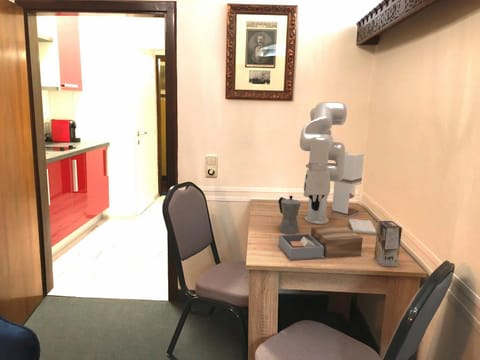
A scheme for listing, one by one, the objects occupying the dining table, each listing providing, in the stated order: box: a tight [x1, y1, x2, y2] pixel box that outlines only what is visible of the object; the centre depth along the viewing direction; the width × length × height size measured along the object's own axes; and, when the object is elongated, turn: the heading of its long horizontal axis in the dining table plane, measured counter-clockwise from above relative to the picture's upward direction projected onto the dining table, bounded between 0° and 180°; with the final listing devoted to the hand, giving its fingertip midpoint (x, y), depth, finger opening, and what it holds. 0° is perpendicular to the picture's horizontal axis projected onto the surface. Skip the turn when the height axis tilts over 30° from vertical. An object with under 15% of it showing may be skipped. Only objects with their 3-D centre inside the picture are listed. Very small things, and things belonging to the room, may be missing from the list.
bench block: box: [310, 225, 363, 259], centre depth 167 cm, size 16×16×8 cm
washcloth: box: [348, 218, 377, 235], centre depth 197 cm, size 12×18×3 cm, turn 172°
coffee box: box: [373, 220, 403, 267], centre depth 155 cm, size 9×6×16 cm
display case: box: [331, 151, 365, 219], centre depth 218 cm, size 11×11×35 cm
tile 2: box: [300, 237, 316, 247], centre depth 163 cm, size 5×5×2 cm
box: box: [277, 233, 324, 262], centre depth 163 cm, size 16×14×5 cm
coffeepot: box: [278, 195, 301, 235], centre depth 189 cm, size 15×9×18 cm, turn 34°
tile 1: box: [290, 241, 304, 248], centre depth 165 cm, size 5×5×2 cm
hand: (315, 209), depth 162 cm, fingers closed
